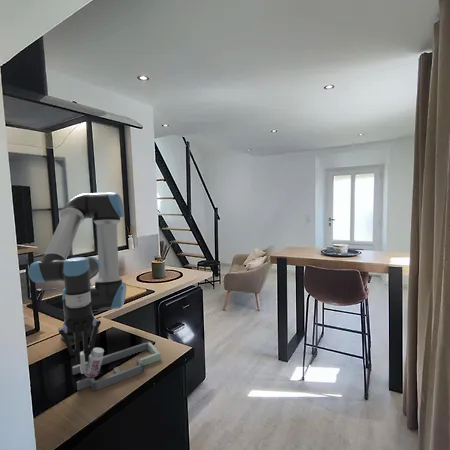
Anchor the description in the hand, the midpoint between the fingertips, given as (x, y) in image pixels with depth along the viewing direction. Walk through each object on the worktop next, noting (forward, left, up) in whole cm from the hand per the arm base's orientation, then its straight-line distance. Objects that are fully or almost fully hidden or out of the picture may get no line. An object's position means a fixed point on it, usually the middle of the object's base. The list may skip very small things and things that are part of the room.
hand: (83, 371), depth 96 cm
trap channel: (+1, +12, -3) cm, 12 cm away
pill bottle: (0, +2, -2) cm, 3 cm away
